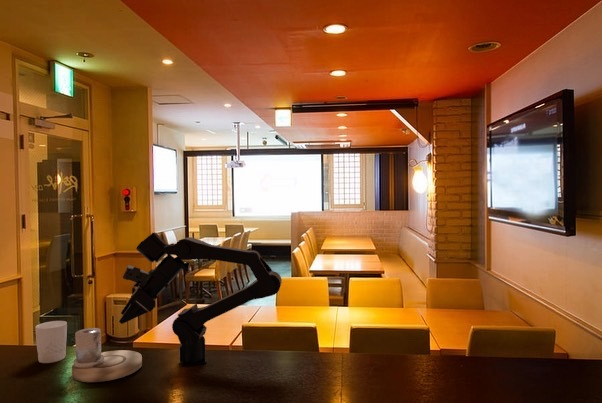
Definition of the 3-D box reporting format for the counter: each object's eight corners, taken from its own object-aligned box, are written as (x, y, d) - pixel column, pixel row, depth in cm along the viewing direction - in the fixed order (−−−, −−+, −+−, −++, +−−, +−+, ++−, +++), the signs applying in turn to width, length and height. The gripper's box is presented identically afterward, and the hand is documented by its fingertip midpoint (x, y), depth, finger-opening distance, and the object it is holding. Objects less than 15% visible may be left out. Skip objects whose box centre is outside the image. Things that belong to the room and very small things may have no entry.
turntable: (142, 355, 126) (142, 347, 126) (141, 377, 110) (141, 367, 110) (77, 364, 121) (77, 355, 121) (66, 388, 105) (66, 378, 105)
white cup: (53, 365, 121) (52, 329, 121) (29, 363, 122) (28, 327, 122) (73, 355, 128) (73, 321, 128) (50, 353, 130) (50, 320, 130)
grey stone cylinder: (105, 357, 119) (104, 325, 119) (102, 366, 112) (101, 333, 112) (75, 361, 116) (75, 329, 116) (71, 370, 110) (70, 336, 110)
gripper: (141, 251, 127) (101, 292, 124) (140, 259, 110) (93, 307, 106) (170, 276, 130) (131, 317, 126) (173, 287, 112) (128, 335, 109)
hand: (121, 318), depth 117 cm, fingers open, 9 cm apart
